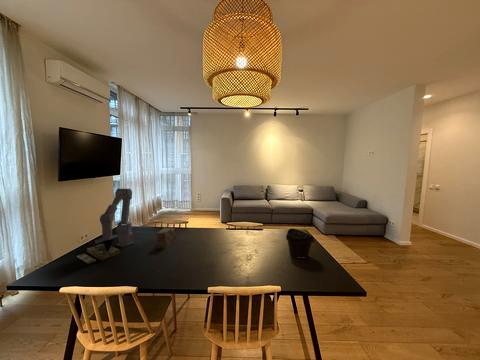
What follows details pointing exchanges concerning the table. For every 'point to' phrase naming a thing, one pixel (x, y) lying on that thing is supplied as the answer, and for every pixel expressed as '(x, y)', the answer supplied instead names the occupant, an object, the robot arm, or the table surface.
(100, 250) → the button
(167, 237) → the stack of blocks
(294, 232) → the black bin
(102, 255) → the wooden tray
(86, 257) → the pattern card
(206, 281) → the table surface
